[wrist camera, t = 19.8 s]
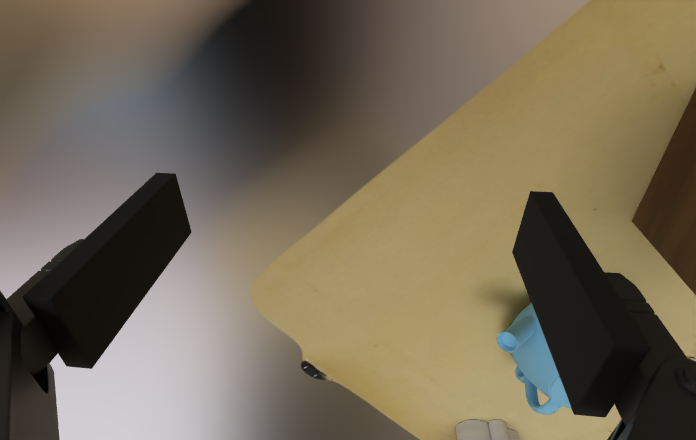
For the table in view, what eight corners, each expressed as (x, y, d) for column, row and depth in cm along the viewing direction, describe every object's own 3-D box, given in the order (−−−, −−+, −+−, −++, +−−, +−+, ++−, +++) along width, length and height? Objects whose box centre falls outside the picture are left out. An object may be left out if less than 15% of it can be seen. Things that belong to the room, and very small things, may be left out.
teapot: (553, 374, 63) (584, 459, 52) (445, 326, 59) (456, 407, 49) (662, 298, 52) (728, 385, 42) (539, 234, 48) (578, 312, 38)
